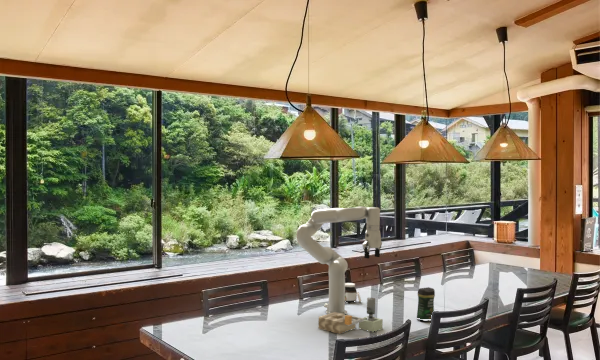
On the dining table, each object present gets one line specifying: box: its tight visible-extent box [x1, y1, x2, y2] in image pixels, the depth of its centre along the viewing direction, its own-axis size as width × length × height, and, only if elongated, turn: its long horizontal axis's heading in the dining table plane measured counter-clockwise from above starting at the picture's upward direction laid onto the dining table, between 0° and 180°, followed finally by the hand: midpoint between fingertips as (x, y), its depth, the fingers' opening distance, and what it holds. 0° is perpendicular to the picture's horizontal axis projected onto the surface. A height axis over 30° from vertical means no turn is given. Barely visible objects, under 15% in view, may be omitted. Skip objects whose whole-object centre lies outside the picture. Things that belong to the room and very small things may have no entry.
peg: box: [366, 297, 376, 322], centre depth 259 cm, size 4×4×16 cm
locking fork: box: [342, 314, 364, 326], centre depth 249 cm, size 10×14×5 cm
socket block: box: [318, 312, 356, 335], centre depth 259 cm, size 14×14×6 cm
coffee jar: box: [416, 286, 436, 319], centre depth 278 cm, size 10×8×19 cm
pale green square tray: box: [358, 315, 384, 333], centre depth 259 cm, size 9×9×5 cm
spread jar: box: [345, 282, 362, 303], centre depth 318 cm, size 12×11×12 cm
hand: (372, 257), depth 284 cm, fingers open, 9 cm apart
